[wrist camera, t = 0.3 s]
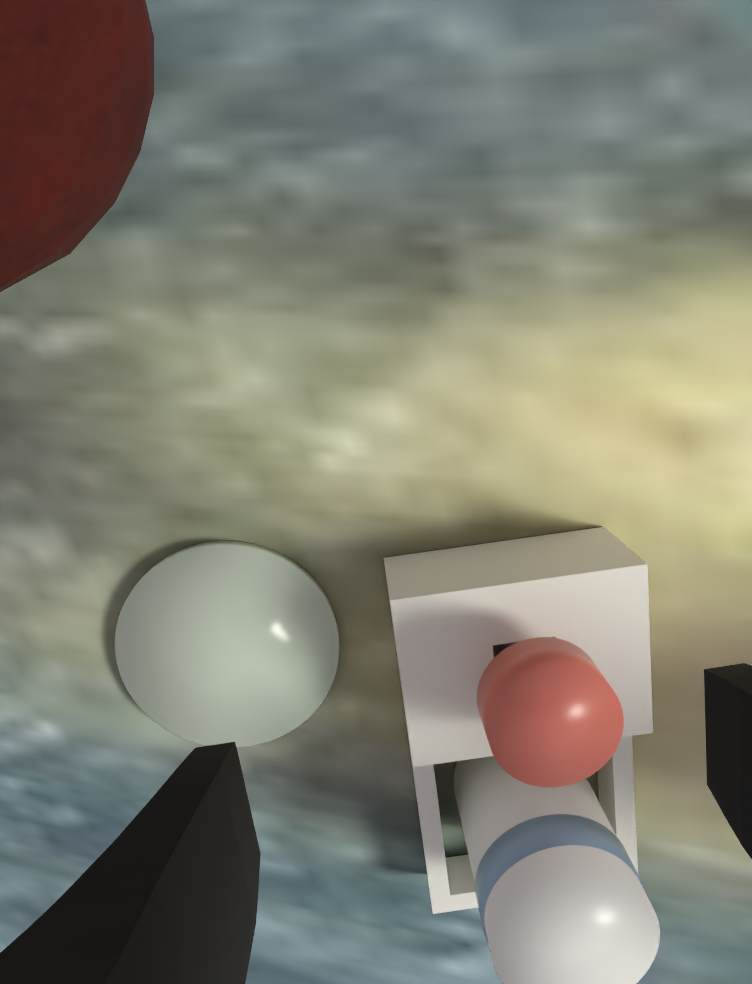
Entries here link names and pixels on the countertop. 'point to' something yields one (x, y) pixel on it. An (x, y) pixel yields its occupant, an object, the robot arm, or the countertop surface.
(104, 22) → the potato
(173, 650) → the pale green dome
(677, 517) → the countertop surface
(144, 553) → the countertop surface
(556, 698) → the plunger
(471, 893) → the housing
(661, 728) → the countertop surface
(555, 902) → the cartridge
